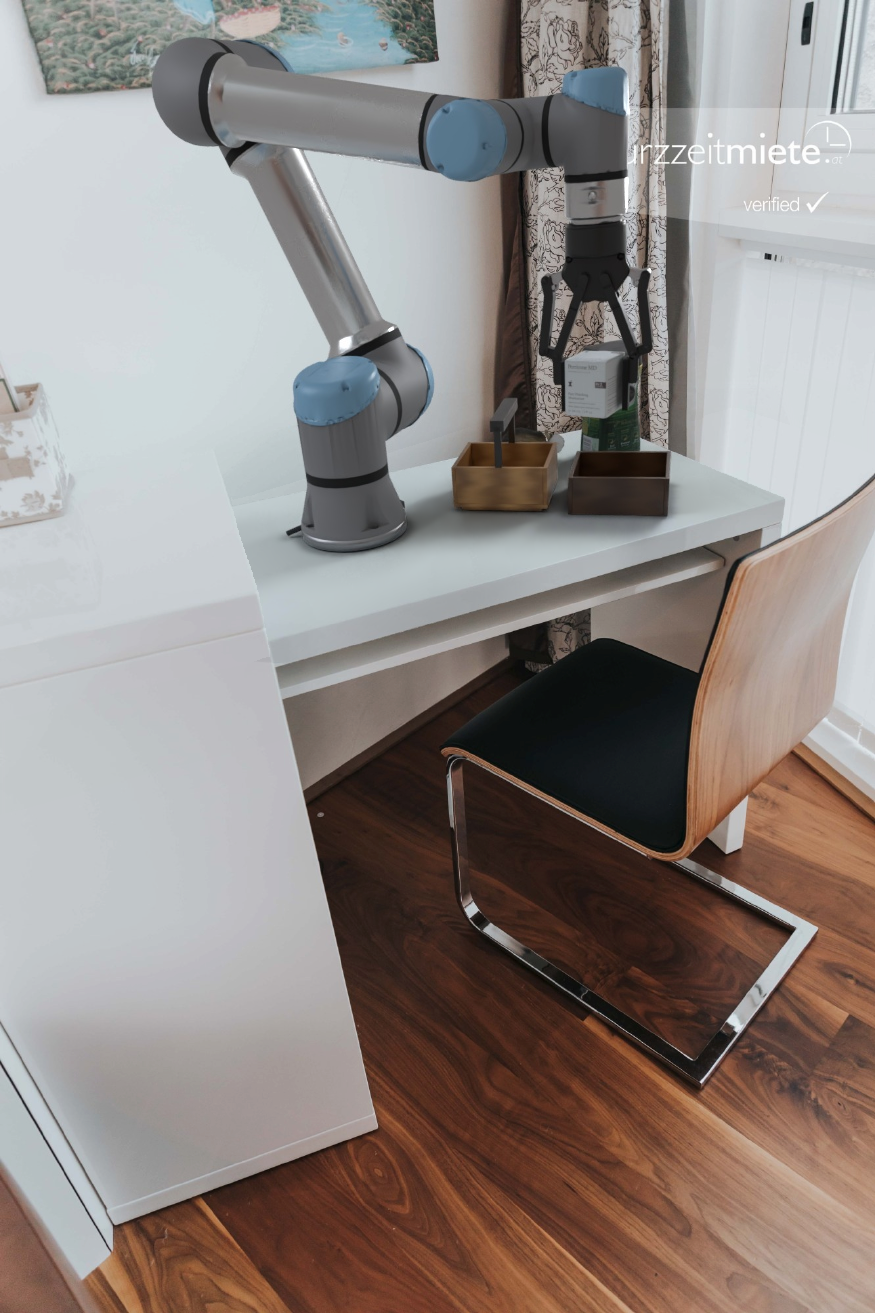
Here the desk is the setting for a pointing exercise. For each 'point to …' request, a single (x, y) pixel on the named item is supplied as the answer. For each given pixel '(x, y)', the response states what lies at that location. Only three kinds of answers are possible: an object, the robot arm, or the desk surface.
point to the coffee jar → (613, 417)
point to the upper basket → (505, 469)
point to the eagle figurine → (536, 437)
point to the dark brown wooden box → (619, 483)
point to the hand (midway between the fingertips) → (595, 408)
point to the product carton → (593, 383)
